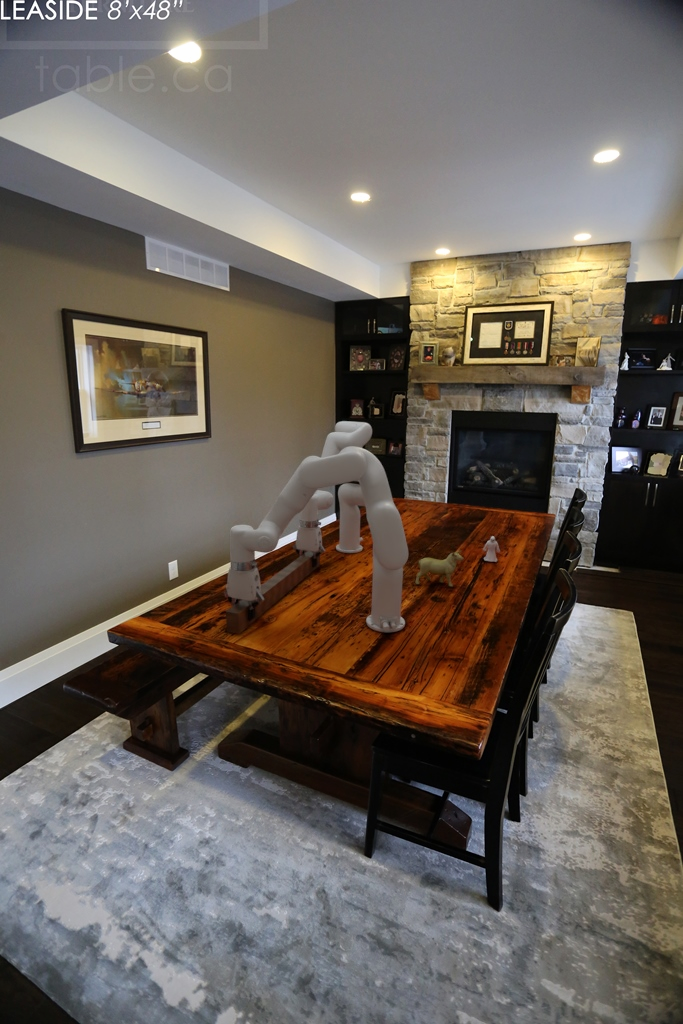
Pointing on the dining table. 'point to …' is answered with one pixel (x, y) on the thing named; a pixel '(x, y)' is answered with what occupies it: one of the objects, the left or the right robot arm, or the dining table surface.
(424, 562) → the toy
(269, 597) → the beam
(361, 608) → the dining table surface
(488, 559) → the figurine
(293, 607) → the dining table surface
